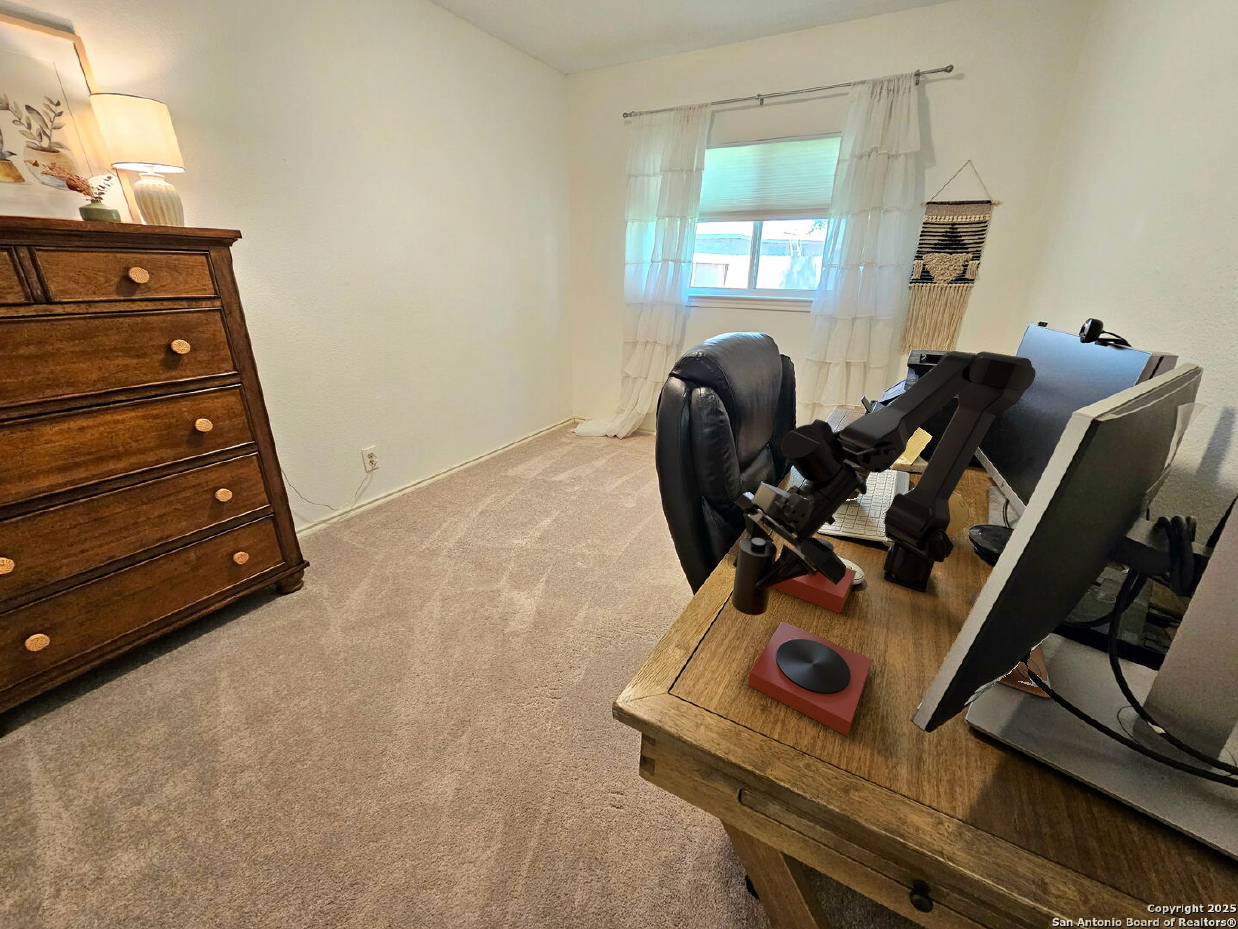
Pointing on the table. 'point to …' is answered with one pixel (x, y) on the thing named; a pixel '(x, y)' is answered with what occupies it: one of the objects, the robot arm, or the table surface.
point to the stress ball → (957, 513)
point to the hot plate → (811, 676)
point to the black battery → (752, 575)
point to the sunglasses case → (1025, 670)
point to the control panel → (819, 589)
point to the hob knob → (825, 545)
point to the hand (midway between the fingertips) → (745, 577)
